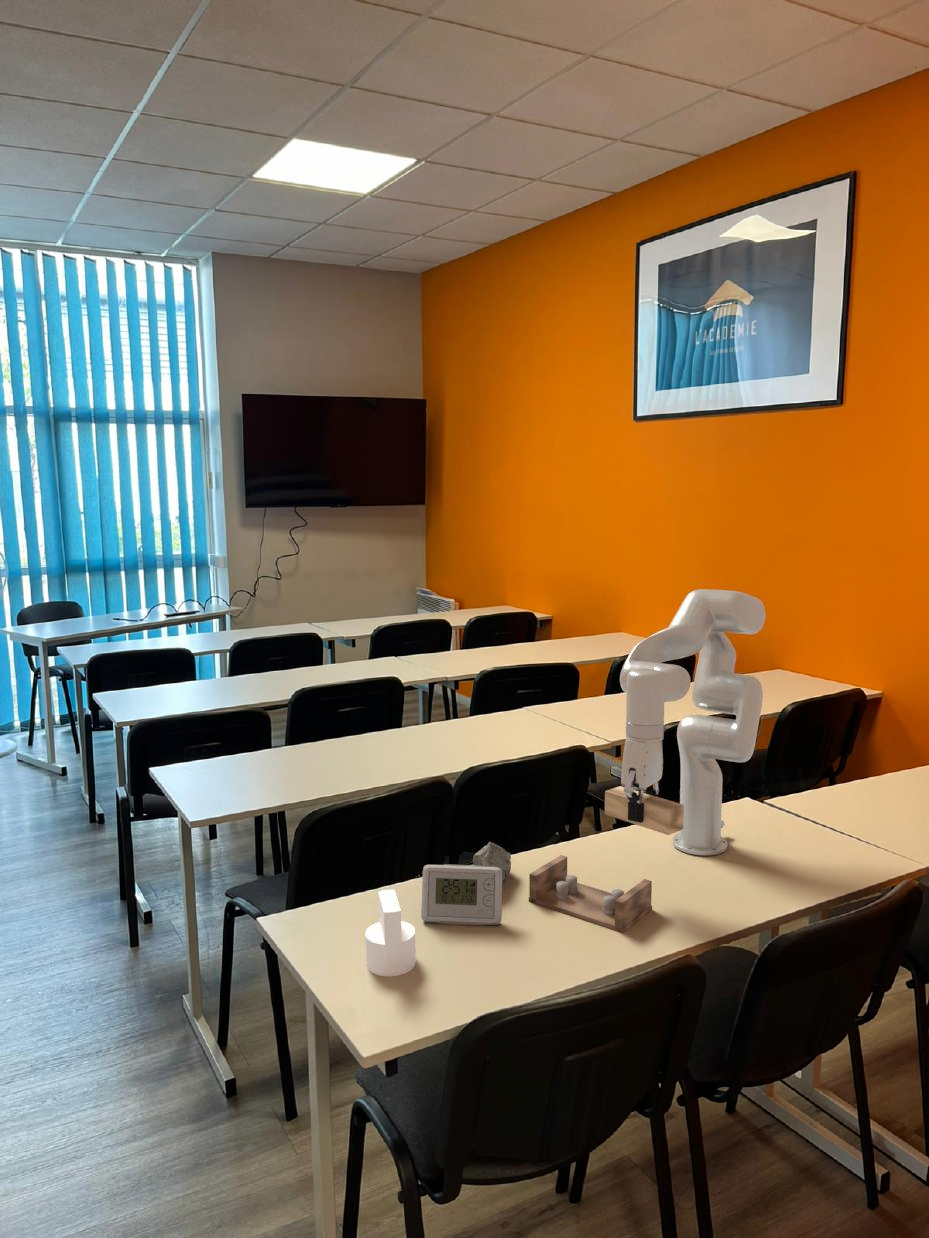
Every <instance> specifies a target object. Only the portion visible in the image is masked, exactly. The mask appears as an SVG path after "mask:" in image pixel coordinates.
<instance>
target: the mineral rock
mask: <svg viewBox="0 0 929 1238" xmlns="http://www.w3.org/2000/svg"><path fill="white" fill-rule="evenodd" d="M472 858H473V859H472V863H473V865H477V866H482V867H498V868H500V869H501V870H502V882H503V881H504V880H505V879H506V878H508V876H509V875H510V873H511V869H512V862H511V860H512V859H511V858H512V856H511V853H510V852H508V851H506V850H505V848H503V846H502V847H501V846H499V845H498V844H496V843H495V842H491V841H489V842H488V843H487V844H486V845H484V846H483V847H482V848H480V850H478V851H477V852H476V853H475V854H474V855H473V857H472Z"/></svg>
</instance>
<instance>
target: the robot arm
mask: <svg viewBox="0 0 929 1238" xmlns="http://www.w3.org/2000/svg"><path fill="white" fill-rule="evenodd" d="M765 622H766V609H765V605H764V603H763V602H762V600H761V599H759V598H758V597H755V596H753V595H750V594H749V593H745V592H741V591H737V590H730V589H729V590H728V589H727V590H726V589H708V588H707V589H706V588H705V589H704V588H700V589H694V590H692V591H690V592H689V593H688V594H687V595H686V597H684V599H683V601H682V603H681V604H680V606H679V608H678V610H677V611H676V613H675V615H674V616H673V618H672V620H671V622H670V624H669V625H668V627H666V628H664V629H661V630H659V631H656V632H655V633H653V634H652V635H651V634H650V636H648V637H646V638H644V639H642V640H641V641H640V642H638V643H637V644H636V645H635V646H634V647H633V649H632V650H631V651H630V652H629V655H628V656H627V658H626V659H625V661H624V663H623V665H622V668H621V671H620V674H619V684H620V687H621V689H622V691H623V692H624V693H625V694H626V703H625V704H626V705H625V706H626V707H625V709H626V710H625V712H626V713H625V738H626V739H625V742H624V746H623V754H622V764H621V780H620V781H621V782H620V783H621V786H622V787H624V792H625V794H626V796H627V801H628V820H631V821H635V822H639V823H642V822H643V816H644V803H642V798H643V793H645V794H649V795H652V796H656V797H659V792H660V789H659V785H660V782H661V781H660V780H661V779H662V777H663V769H664V754H663V751H664V750H663V740H664V737H665V735H664V732H665V731H664V728H665V723H664V722H665V703H669V702H677V701H679V700H682V699H683V698H685V696H686V695H687V694H688V692H689V690H690V687H691V676H690V674H689V672H688V671H687V669H686V668H684V667H682V666H680V665H677V664H672V663H664V662H667V661H668V662H669V661H673V660H674V661H675V660H679V659H682V658H683V659H684V658H686V657H690V656H693V655H696V654H697V653H699V654H698V661H697V665H696V670H695V675H694V681H693V686H692V692H691V700H692V704H693V705H694V706H695V707H696V708H697V709H700V710H702V711H708V712H713V713H718V714H719V713H721V714H727V715H734V716H736V717H735V719H732V718H724V717H718V716H712V715H705V714H690V715H687V716H684V717H683V718H682V719H681V720H680V721H679V723H678V725H677V728H676V729H677V731H676V739H677V745H678V751H679V758H680V759H679V760H680V761H679V762H680V784H679V785H680V786H679V787H680V789H679V795H680V796H679V804H683V805H684V826H683V829H682V830H680V831H678V833H676V834H675V835H673V837H672V846H674V847H675V848H676V849H677V850H678V851H681V852H683V853H686V854H689V855H695V856H705V857H707V856H716V855H717V856H718V855H720V854H722V853H724V852H726V851H727V850H728V841H727V840H726V838H724V837H723V836H722V829H723V828H724V827H725V822H724V820H723V819H722V810H723V809H722V807H723V805H722V803H723V801H722V800H723V773H722V770H721V768H720V766H719V764H718V762H717V760H721V761H726V762H727V761H728V762H733V763H734V762H735V763H746V762H748V761H749V760H750V759H751V758H752V757H753V754H754V752H755V751H754V750H755V746H756V741H757V736H758V731H759V730H758V729H759V725H760V718H761V712H762V707H763V698H764V695H763V692H764V691H763V686H762V683H761V681H760V680H759V678H757V677H755V676H753V675H750V674H743V673H735V666H736V661H737V652H736V650H735V647H734V646H733V644H732V642H731V640H730V639H729V638H728V637H727V635H726V634H725V633H729V634H744V635H755V634H757V633H759V632H760V631H761V630H762V628H763V627H764V625H765ZM635 785H638V786H635ZM634 790H635V791H639V793H638V795H637V794H636V792H634Z"/></svg>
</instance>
